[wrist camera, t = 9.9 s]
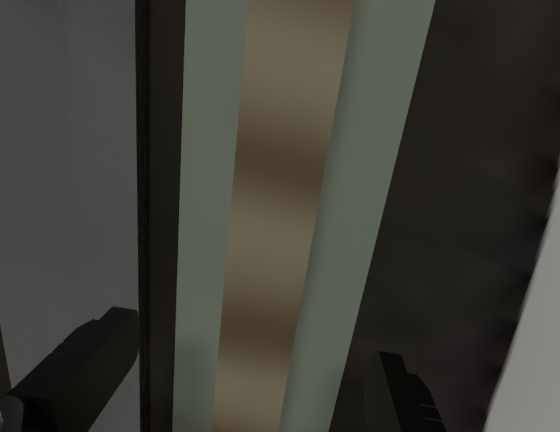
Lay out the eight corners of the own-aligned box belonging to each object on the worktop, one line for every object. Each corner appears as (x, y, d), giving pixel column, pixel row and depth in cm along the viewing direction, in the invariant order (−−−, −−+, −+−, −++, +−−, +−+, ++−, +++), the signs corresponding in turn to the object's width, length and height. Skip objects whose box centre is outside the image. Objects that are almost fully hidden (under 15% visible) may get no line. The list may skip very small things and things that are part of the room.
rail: (281, -151, 10) (269, -249, 8) (373, -142, 10) (397, -238, 7) (215, 496, 21) (200, 557, 18) (261, 505, 21) (253, 568, 18)
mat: (204, -215, 11) (193, -246, 10) (473, -190, 10) (489, -220, 10) (175, 490, 22) (169, 507, 21) (303, 515, 22) (303, 534, 21)
